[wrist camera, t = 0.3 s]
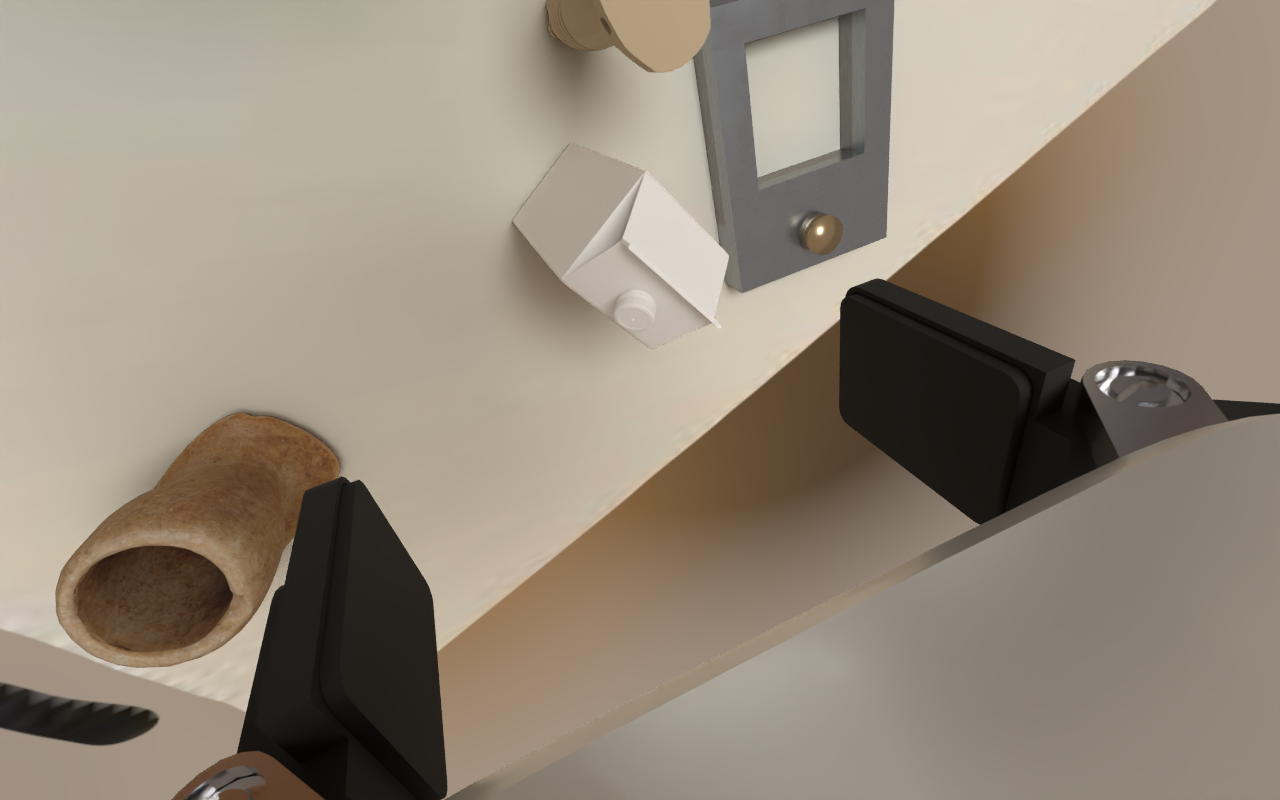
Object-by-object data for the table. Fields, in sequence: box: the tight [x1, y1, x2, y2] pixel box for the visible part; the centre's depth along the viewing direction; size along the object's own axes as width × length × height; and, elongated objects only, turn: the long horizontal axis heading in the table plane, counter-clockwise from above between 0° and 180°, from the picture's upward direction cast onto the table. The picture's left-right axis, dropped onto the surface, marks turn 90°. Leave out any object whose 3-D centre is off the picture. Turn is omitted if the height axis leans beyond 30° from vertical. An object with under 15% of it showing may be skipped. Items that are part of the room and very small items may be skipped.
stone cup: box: [55, 413, 340, 668], centre depth 37 cm, size 15×12×15 cm
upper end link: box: [702, 0, 894, 293], centre depth 44 cm, size 20×15×5 cm
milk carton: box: [512, 143, 729, 349], centre depth 35 cm, size 7×7×19 cm
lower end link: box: [694, 0, 852, 227], centre depth 42 cm, size 20×15×3 cm
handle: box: [546, 0, 711, 72], centre depth 30 cm, size 5×6×15 cm
